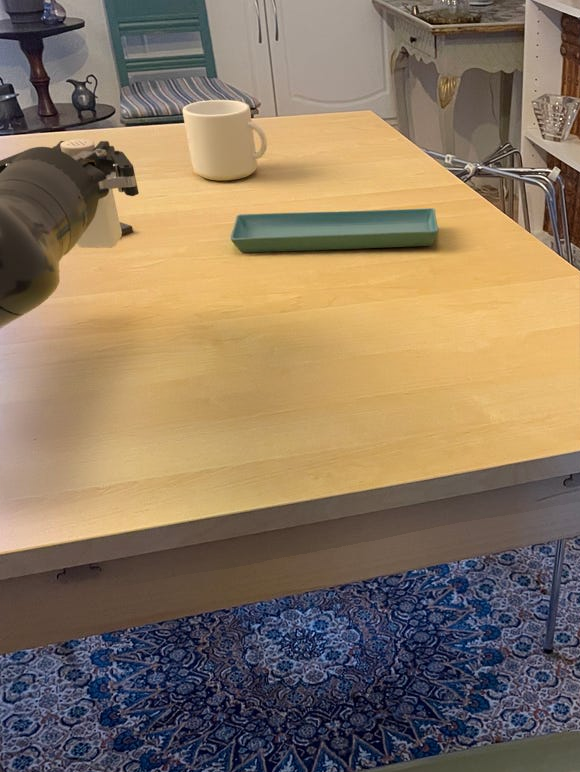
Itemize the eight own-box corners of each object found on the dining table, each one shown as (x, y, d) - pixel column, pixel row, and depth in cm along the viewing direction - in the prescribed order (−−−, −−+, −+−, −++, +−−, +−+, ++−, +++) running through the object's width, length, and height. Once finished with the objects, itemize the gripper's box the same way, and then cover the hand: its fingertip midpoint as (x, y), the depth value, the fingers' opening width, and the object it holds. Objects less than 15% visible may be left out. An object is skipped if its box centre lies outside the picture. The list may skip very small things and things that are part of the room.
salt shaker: (116, 250, 97) (93, 149, 90) (76, 249, 96) (50, 148, 90) (124, 236, 100) (102, 138, 93) (85, 236, 99) (61, 137, 93)
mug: (283, 166, 146) (275, 101, 140) (260, 186, 139) (250, 118, 133) (210, 161, 148) (199, 96, 142) (183, 181, 140) (171, 113, 134)
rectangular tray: (232, 255, 118) (228, 235, 116) (239, 230, 125) (236, 211, 123) (439, 251, 120) (439, 231, 118) (435, 226, 127) (434, 207, 125)
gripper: (113, 160, 80) (151, 110, 93) (-58, 159, 79) (4, 109, 92) (133, 250, 85) (166, 191, 98) (-28, 250, 84) (27, 191, 97)
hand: (87, 152), depth 95 cm, fingers closed on salt shaker, 3 cm apart
